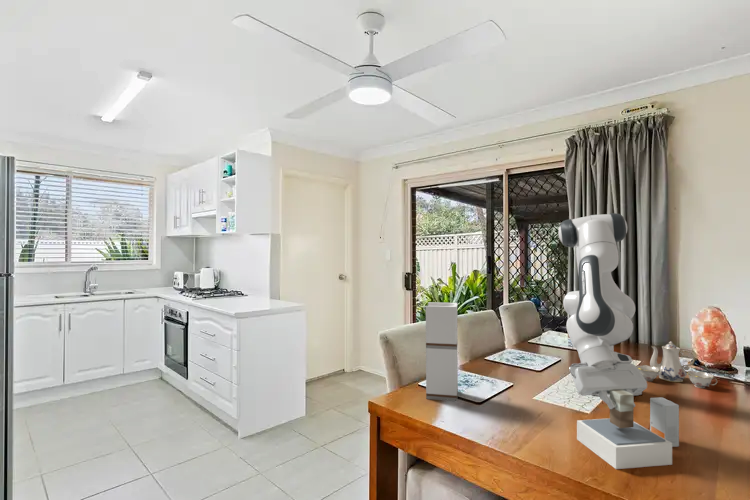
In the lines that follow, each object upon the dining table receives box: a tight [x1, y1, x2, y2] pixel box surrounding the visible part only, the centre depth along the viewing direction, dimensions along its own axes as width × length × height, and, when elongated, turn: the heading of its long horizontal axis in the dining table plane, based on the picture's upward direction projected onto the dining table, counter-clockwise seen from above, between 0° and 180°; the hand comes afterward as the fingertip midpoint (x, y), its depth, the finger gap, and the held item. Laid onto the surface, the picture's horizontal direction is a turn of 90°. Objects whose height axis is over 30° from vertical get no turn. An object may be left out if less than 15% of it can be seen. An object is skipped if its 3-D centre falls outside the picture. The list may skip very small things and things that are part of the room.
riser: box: [576, 417, 673, 470], centre depth 111 cm, size 16×16×6 cm
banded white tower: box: [425, 301, 459, 402], centre depth 154 cm, size 11×11×35 cm
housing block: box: [609, 390, 634, 428], centre depth 111 cm, size 4×4×9 cm
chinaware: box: [635, 341, 718, 389], centre depth 168 cm, size 28×17×17 cm, turn 66°
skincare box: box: [649, 397, 680, 448], centre depth 116 cm, size 6×4×12 cm
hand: (623, 407), depth 111 cm, fingers closed on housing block, 4 cm apart
